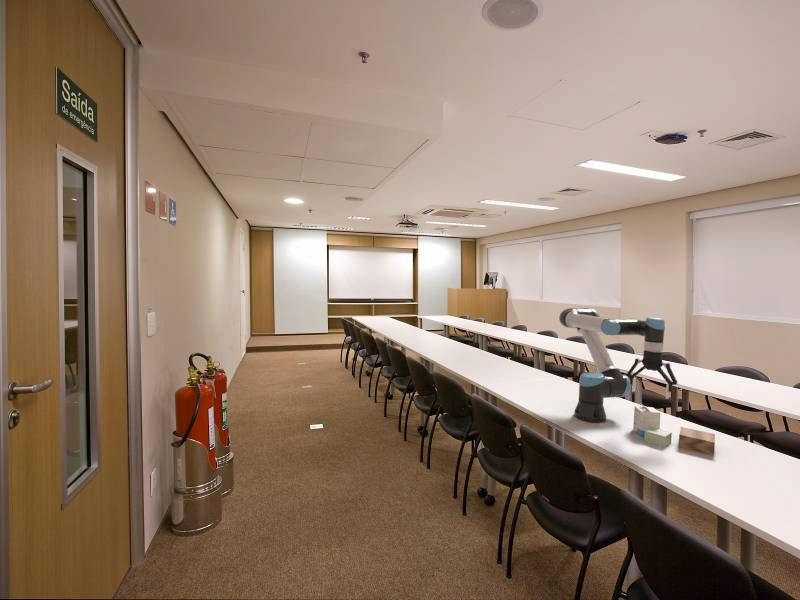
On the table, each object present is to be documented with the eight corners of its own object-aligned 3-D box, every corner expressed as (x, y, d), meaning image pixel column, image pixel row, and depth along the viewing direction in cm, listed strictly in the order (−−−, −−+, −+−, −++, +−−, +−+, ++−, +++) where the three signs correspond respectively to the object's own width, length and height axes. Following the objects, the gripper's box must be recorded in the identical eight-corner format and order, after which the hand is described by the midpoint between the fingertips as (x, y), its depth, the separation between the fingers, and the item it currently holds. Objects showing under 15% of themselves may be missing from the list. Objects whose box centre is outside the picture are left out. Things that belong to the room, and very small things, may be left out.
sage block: (644, 441, 173) (644, 430, 173) (651, 437, 178) (651, 426, 178) (664, 447, 167) (665, 436, 167) (671, 443, 172) (671, 432, 172)
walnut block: (678, 448, 167) (679, 434, 167) (680, 439, 177) (681, 426, 176) (713, 456, 160) (714, 442, 159) (713, 447, 169) (714, 434, 169)
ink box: (659, 437, 178) (661, 409, 177) (639, 435, 179) (641, 407, 179) (651, 430, 186) (653, 403, 185) (632, 428, 188) (634, 402, 187)
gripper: (621, 347, 186) (618, 390, 188) (684, 356, 169) (680, 403, 170) (625, 345, 192) (622, 387, 193) (687, 353, 174) (683, 399, 176)
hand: (649, 394), depth 182 cm, fingers open, 13 cm apart
